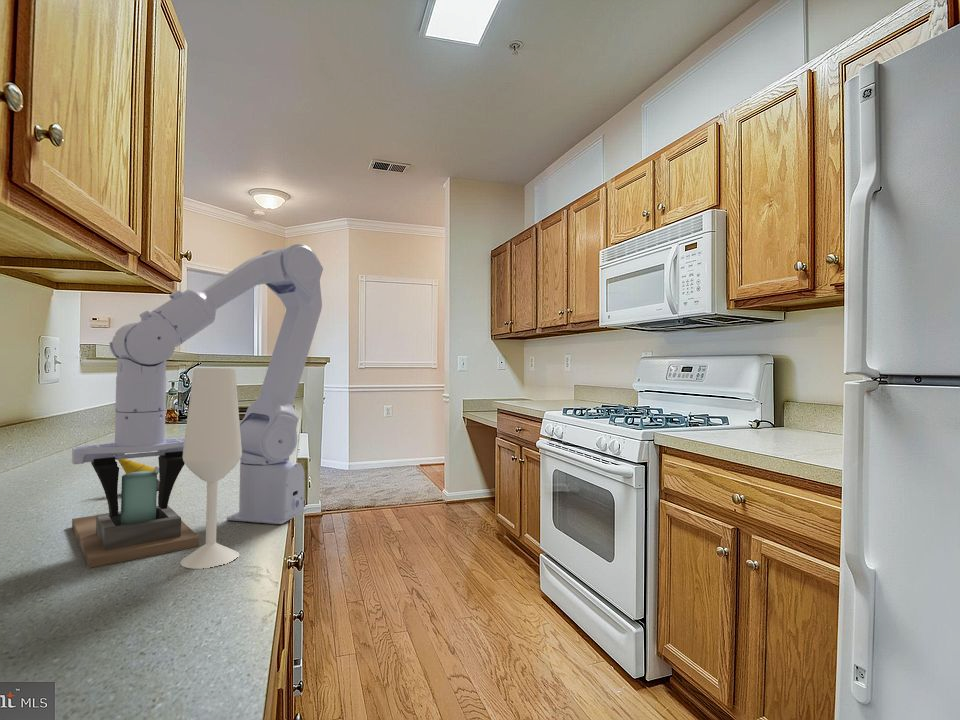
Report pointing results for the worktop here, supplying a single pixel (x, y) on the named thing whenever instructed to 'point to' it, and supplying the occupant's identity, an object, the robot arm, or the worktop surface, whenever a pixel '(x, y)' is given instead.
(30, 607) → the worktop surface
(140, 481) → the peg
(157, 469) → the yellow cone with base
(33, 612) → the worktop surface
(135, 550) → the dock board
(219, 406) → the champagne flute
